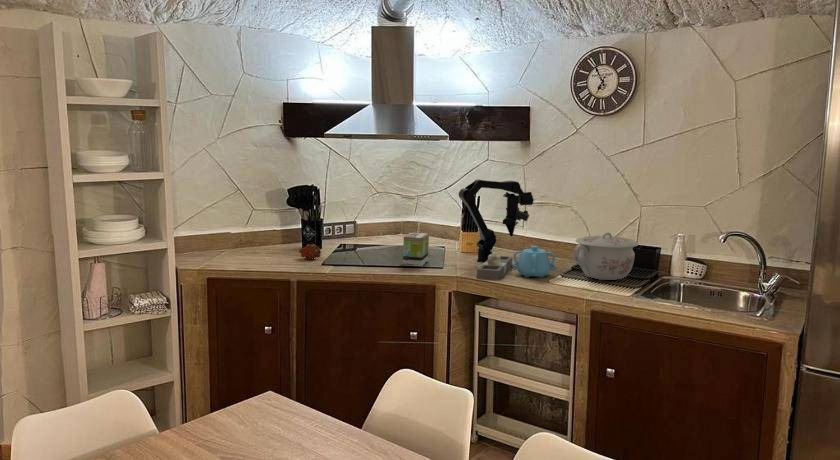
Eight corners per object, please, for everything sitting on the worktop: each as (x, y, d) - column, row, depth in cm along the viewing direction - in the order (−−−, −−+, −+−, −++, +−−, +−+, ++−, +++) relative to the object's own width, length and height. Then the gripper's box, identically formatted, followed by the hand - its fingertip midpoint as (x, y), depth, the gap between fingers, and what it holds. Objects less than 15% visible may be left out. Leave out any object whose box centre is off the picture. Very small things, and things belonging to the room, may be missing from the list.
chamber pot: (634, 273, 311) (636, 229, 308) (639, 286, 285) (642, 239, 282) (572, 269, 317) (574, 226, 314) (572, 282, 291) (574, 236, 288)
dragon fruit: (321, 263, 333) (300, 265, 338) (326, 251, 339) (306, 253, 344) (314, 251, 328) (293, 253, 333) (319, 239, 334) (299, 241, 338)
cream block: (487, 264, 308) (488, 256, 307) (490, 262, 313) (490, 254, 312) (498, 265, 306) (498, 256, 306) (500, 263, 311) (500, 254, 310)
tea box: (422, 268, 318) (423, 237, 316) (402, 266, 320) (402, 236, 318) (428, 261, 333) (429, 232, 331) (409, 260, 335) (409, 231, 333)
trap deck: (476, 277, 298) (477, 269, 298) (492, 263, 330) (492, 255, 330) (499, 279, 295) (499, 270, 295) (512, 264, 327) (512, 256, 327)
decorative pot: (559, 277, 302) (560, 247, 299) (530, 280, 294) (531, 250, 292) (536, 270, 316) (537, 242, 314) (508, 273, 308) (509, 244, 306)
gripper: (525, 208, 325) (524, 240, 327) (531, 204, 343) (530, 234, 345) (503, 207, 328) (502, 238, 331) (509, 203, 346) (508, 233, 348)
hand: (511, 236), depth 339 cm, fingers closed
